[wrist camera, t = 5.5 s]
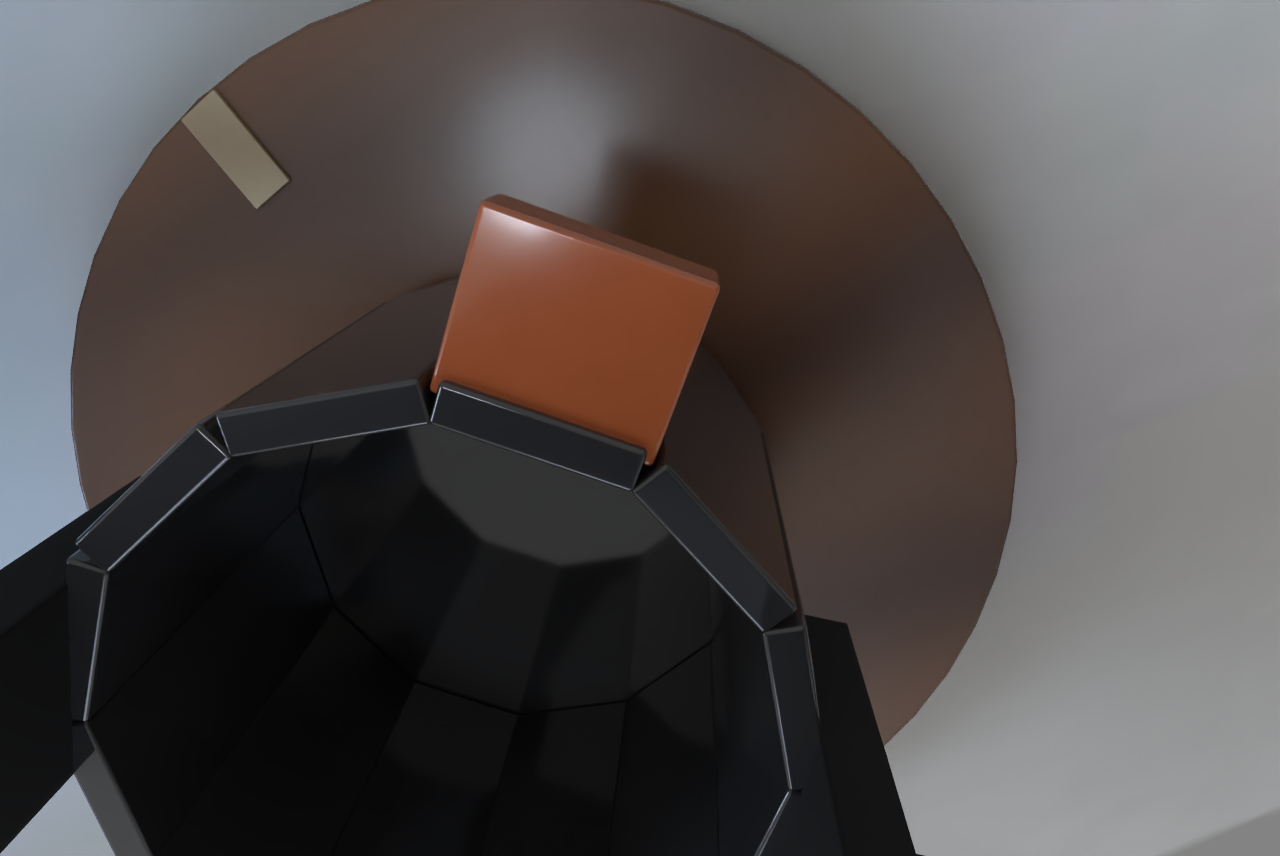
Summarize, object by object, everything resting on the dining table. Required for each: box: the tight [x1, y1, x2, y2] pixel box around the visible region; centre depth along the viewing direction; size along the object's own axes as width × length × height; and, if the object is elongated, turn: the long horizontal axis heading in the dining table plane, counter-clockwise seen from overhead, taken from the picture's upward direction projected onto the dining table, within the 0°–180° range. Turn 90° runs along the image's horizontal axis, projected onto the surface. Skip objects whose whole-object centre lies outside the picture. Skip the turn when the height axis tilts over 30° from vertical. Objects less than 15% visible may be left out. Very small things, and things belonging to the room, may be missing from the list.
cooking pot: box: [63, 194, 823, 856], centre depth 13 cm, size 9×13×7 cm
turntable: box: [71, 0, 1017, 745], centre depth 17 cm, size 18×18×2 cm
